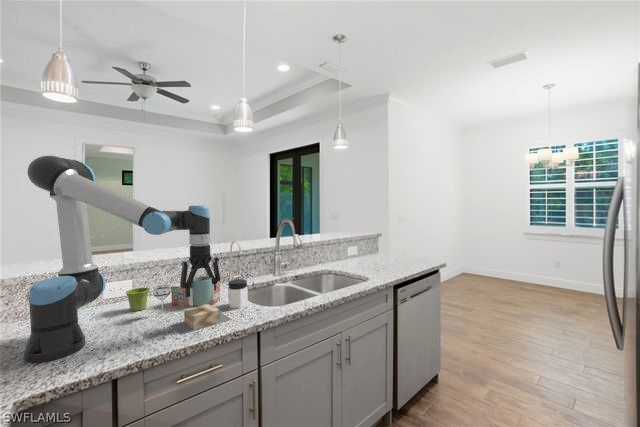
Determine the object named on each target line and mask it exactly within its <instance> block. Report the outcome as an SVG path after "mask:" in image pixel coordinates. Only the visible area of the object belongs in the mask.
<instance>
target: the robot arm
mask: <svg viewBox="0 0 640 427" xmlns="http://www.w3.org/2000/svg"><path fill="white" fill-rule="evenodd" d="M27 176H28V179H29V181H30V182H31V183H32V184H33V185H34V186H35V187H37V188H39V189H41V190H44V191H46V192H49V197H50V198H51V199H52V200H54V202H55V203H56V211H57V212H56V213H57V224H58V231H59V232H58V233H59V241H60V242H59V243H60V250H61V259H62V260H61V261H62V267H61V269H60V270H59V271H58V272H57V276H55V277H54V276H53V277H50V278H47V279H46V278H45V279H42V280H40V281H37V282H35V283H34V284H33V285H32V286H31V287H30V288H29V291H28V292H29V295H28V297H27V298H28V299H27V300H28V303H29V317H30V318H29V319H30V320H29V321H30V322H29V323H30V335H29V337H28V340H27V343H26V346H25V349H24V351H23V356H24V357H23V358H24V361H26V362H29V363H44V362H49V361H53V360H58V359H61V358H64V357H65V358H66V357H67V356H70V355H73V354H74V353H76V352H78V351H80V350H81V349H83V348H84V347H85V345H86V336H85V334H84V332H83V330H82V328H81V326H80V324H79V317H78V316H79V314H78V312H79V310H78V309H80V308H82V307H84V306H86V305H88V304H90V303H92V302H94V301H95V300H97V299H98V298H99V297H100V296H101V295H102V294H103V293H104V291H105V289H106V287H107V286H106V285H107V284H106V283H107V282H106V278H105V276H104V275H103V274H102V273H101V272H100V271H99V266H98V265H97V264H95V263H94V262H93V254H92V244H91V243H92V242H91V235H90V225H89V215H88V213H89V212H88V206H91V207H93V208H95V209H99V210H101V211H102V212H105V213H107V214H110V215H112V216H115V217H117V218H120V219H121V220H124V221H126V222H129V223H131V224H134V225H136V226H139V227H141V228H142V229H143V230H144V231H145V232H146V233H148V234H149V235H154V236H157V235H160V236H161V235H163V234H166V233H168V232H172V231H189V238H188V239H189V242H188V243H189V245H190V246H189V259H188V260H185V261H184V260H183V261H181V267H182V268H181V276H180V282H179V283H180V287H182V288H185V292H186V296H187V297H188V304H189V305H193V290H192V288H191V284H192V282H193V279H194V278H195V277H196V274H197V272H198V270H200V269H204V270H205V272H206V274H207V276H209V277H211V278H212V296H211V300H214V291H216V284H217V282H218V281H220V282H221V275H220V274H221V273H220V269H219V263H218V262H219V258H218V256H211V245H210V243H211V232H210V231H211V230H210V229H211V228H210V227H211V226H210V225H211V223H210V220H211V216H210V209H209V206H207V205H206V204H205V205H204V204H203V205H189V206H188V209H187V210H159V209H157V208H155V207H152V206H150V205H148V204H146V203H144V202H141V201H139V200H136V199H135V198H132V197H130V196H128V195H126V194H123V193H121V192H118V191H117V190H114V189H112V188H109V187H107V186H105V185H103V184H101V183H98V182H96V175H95V173H94V170H93V169H92V168H91V167H90V166H89V165H88V164H86V163H84V162H81V161H78V160H76V159H70V158H65V157H60V156H55V155H42V156H39V157H37V158H35V159H33V160H32V161H31V162H30V163H29V165H28V166H27ZM87 205H88V206H87ZM210 262H211V263H212V269H211V266H210ZM190 265H191V267H190V271H189V274H188V270H189V266H190ZM212 270H213V271H212Z"/></svg>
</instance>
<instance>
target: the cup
mask: <svg viewBox="0 0 640 427" xmlns="http://www.w3.org/2000/svg"><path fill="white" fill-rule="evenodd" d="M191 288H192V290H193V303H194V304H196V305H200V306H201V305H205V304H207V303H208V302H209V301H210V300H211V296H212V278H211V277H209V276H208V275H200V276H194V279H193V282H192V284H191Z"/></svg>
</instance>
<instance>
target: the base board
mask: <svg viewBox="0 0 640 427" xmlns="http://www.w3.org/2000/svg"><path fill="white" fill-rule="evenodd" d="M219 317H220V322H219V323H215V324H212V325H209V326H205V327H202V328H198V329H195V330H194V329H192V328H191V327H190V326H189V325H187V324H186V323H185V322H184V320H183V321H180V322H177V323H173V324H170V326H171V328H173V329H174V330H175V331H176V332H177V333H178V334H179V335H186V334H188V333H191V332H196V331H199V330H202V329H205V328H209V327H212V326H216V325H220V324H222V323H226V322H229V321H232V320H233V319H232V318H231V317H229V316H227V315H226V314H224V313H222V312H221V311H219Z"/></svg>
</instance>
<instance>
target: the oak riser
mask: <svg viewBox="0 0 640 427" xmlns="http://www.w3.org/2000/svg"><path fill="white" fill-rule="evenodd" d="M219 312H220V309H219V308H217V307H215V306H213V304H204V305H200V306H192V307H189V308H186V309H183V316H184V317H183V318H184V320H183V321H184V322H185V323H186V324H187V325H189V326H190V327H191V328H192V329H194V330H195V329H198V328H202V327H205V326H209V325H212V324H215V323H219V322H220V317H219ZM219 324H220V323H219ZM209 327H210V326H209Z"/></svg>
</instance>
